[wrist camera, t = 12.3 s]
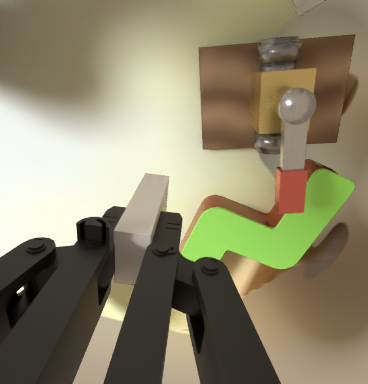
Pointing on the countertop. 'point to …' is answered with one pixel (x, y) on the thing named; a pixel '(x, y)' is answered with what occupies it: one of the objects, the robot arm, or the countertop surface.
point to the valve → (275, 88)
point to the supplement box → (304, 5)
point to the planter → (267, 223)
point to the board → (240, 89)
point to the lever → (293, 149)
